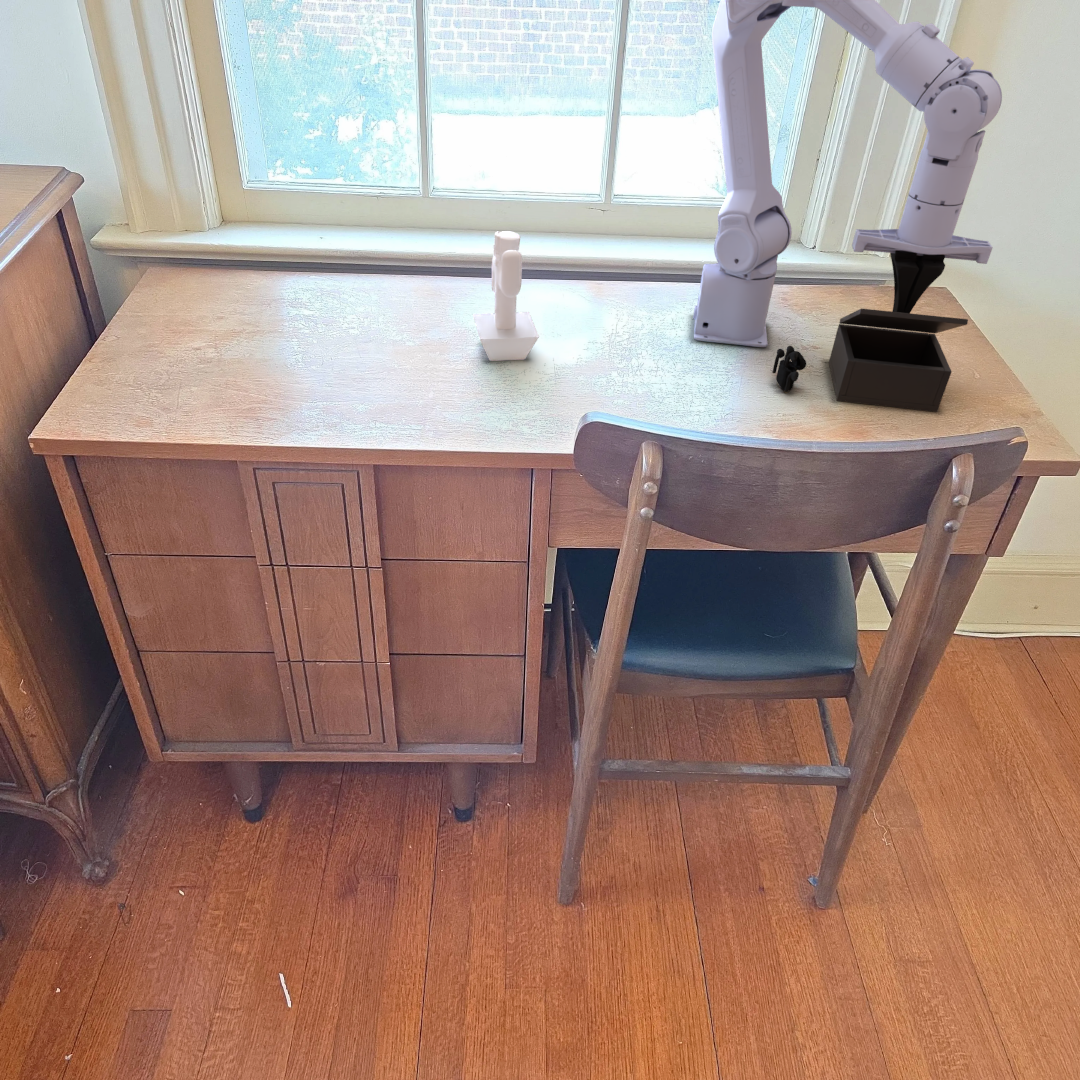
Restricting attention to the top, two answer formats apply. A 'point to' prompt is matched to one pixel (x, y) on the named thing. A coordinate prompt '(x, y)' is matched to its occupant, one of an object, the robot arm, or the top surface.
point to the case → (888, 368)
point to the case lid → (902, 321)
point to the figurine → (506, 305)
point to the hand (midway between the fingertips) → (899, 315)
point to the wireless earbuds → (788, 367)
